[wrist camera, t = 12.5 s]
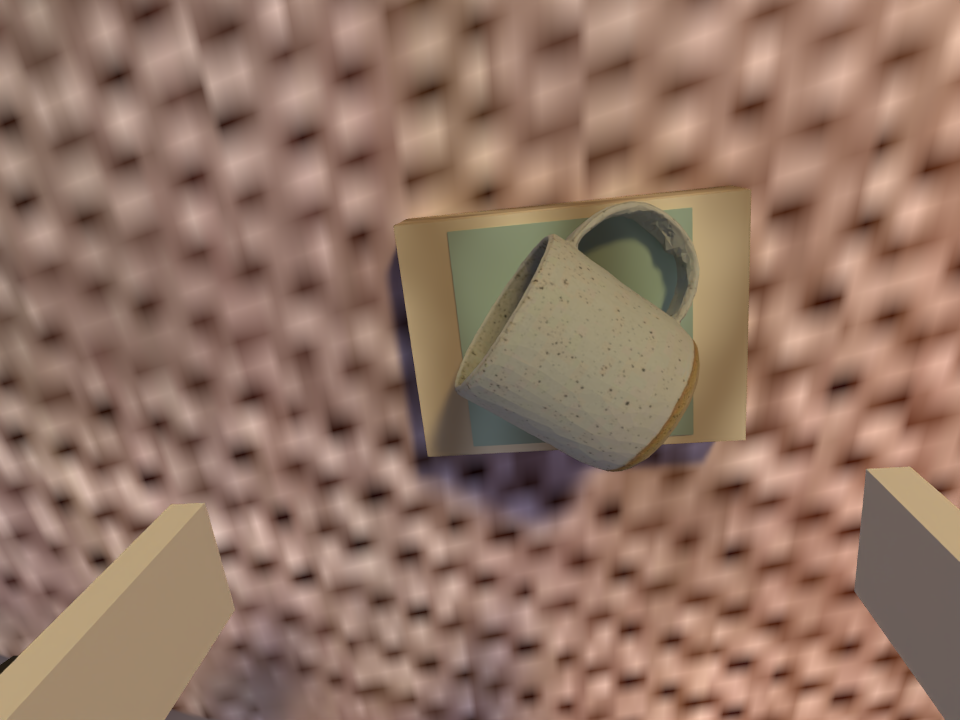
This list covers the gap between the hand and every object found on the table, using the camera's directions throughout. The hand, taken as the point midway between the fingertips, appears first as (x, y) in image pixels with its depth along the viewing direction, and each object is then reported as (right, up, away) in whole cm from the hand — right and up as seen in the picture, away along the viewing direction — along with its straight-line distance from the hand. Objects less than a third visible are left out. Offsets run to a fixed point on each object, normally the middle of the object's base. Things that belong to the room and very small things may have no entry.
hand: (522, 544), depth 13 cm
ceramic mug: (+4, +6, +17) cm, 19 cm away
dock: (+4, +6, +20) cm, 22 cm away
